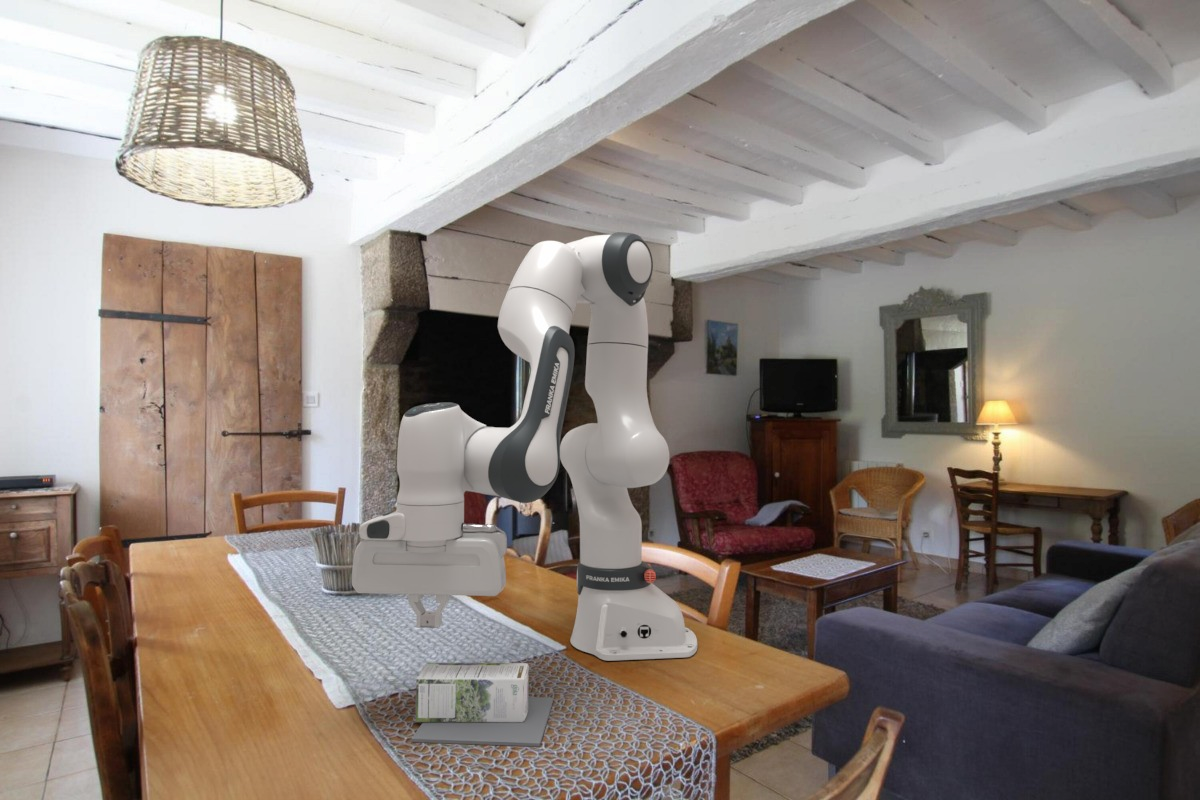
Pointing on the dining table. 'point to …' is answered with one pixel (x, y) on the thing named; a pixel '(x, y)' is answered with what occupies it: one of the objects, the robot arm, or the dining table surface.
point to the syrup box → (472, 692)
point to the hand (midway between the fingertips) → (429, 626)
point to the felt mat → (491, 729)
